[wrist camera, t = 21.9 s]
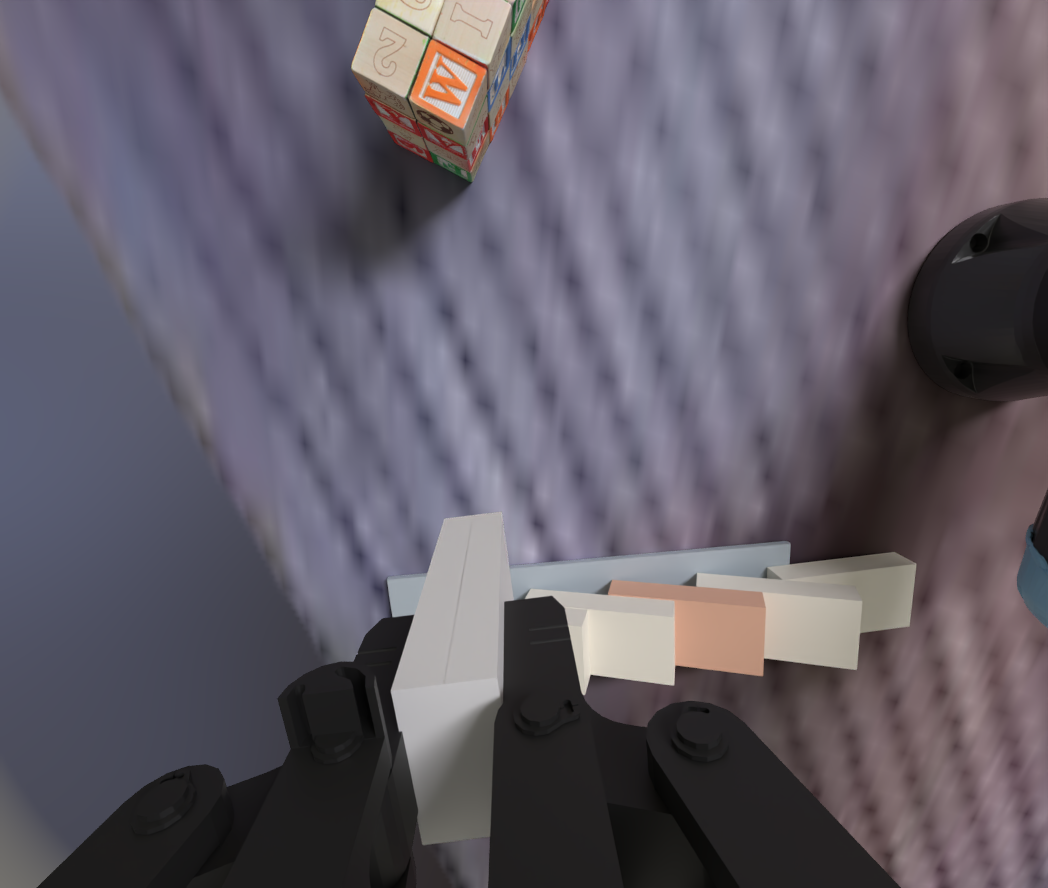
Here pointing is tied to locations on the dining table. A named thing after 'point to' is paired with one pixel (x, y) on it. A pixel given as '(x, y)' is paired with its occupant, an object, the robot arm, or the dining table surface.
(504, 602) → the robot arm
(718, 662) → the domino
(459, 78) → the stack of blocks
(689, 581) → the mat
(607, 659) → the domino
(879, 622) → the domino
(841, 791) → the dining table surface
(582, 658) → the end domino
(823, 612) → the domino
